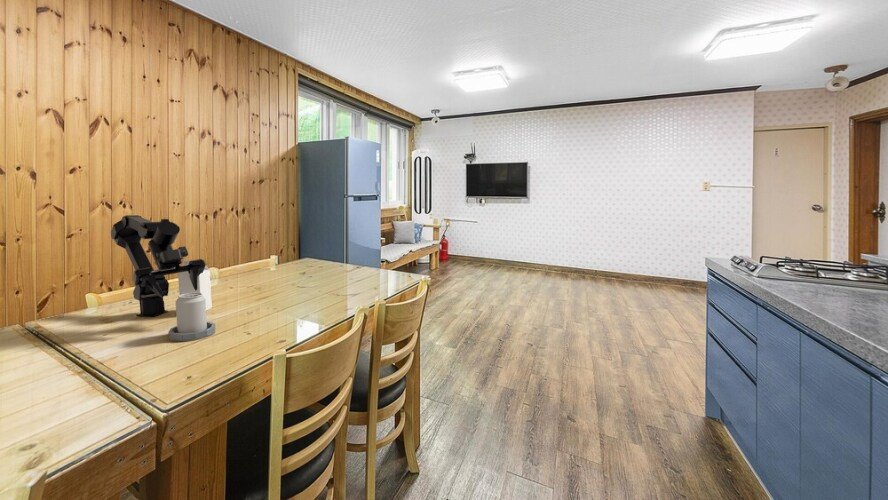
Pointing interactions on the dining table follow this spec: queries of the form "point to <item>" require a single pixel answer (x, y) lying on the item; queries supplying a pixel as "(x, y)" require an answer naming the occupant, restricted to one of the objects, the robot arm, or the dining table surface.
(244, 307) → the dining table surface
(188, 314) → the can
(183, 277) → the milk carton
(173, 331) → the ring coaster
